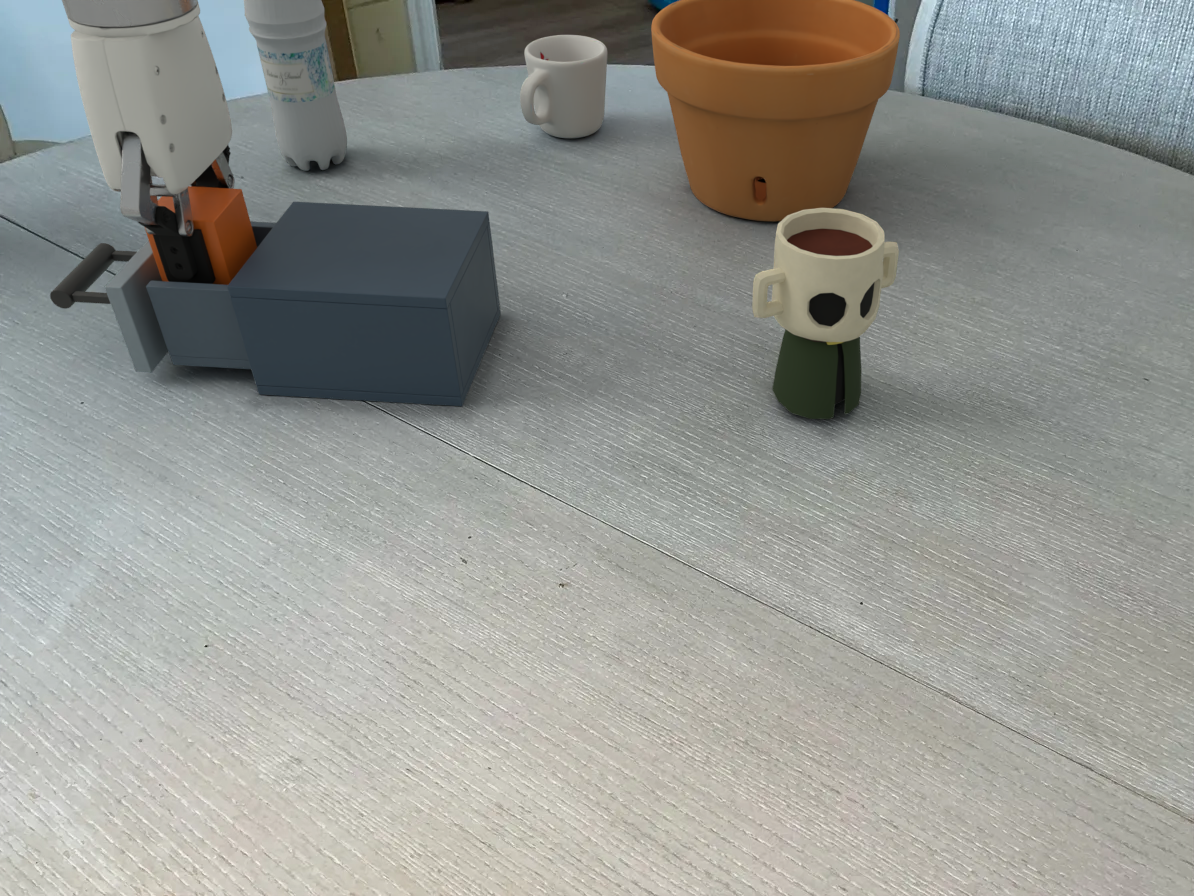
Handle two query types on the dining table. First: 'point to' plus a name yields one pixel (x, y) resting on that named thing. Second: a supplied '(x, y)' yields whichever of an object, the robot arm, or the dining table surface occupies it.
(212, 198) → the block
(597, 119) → the cup
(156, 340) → the drawer
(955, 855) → the dining table surface
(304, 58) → the bottle
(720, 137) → the flower pot
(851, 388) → the character mug
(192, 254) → the robot arm
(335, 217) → the drawer cabinet
